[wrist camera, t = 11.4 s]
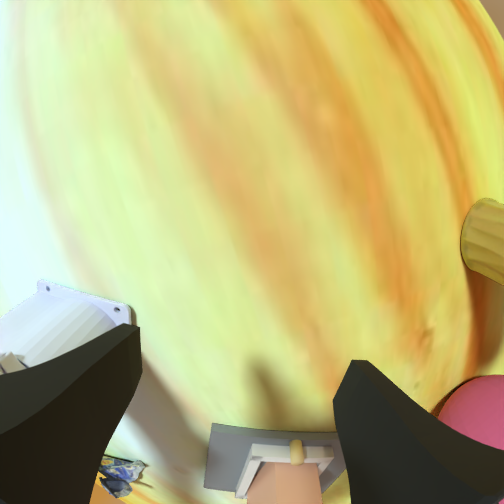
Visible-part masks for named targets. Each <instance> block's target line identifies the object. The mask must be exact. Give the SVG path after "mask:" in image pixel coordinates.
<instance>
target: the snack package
mask: <svg viewBox="0 0 504 504" xmlns="http://www.w3.org/2000/svg"><path fill="white" fill-rule="evenodd" d="M134 464H135V465H140V466H139V467H136V466H131V465H134ZM143 468H145V466H144V464H143V463H142V461H137V462H133V463H131V462H127V461H123V460H118V459H114V458H110V457H107V456H104V455H103V458H102V461H101V464H100V467H99V470H98V471H99V472H100V473H101V474H103V475H104V476H105V477H106V478H104V479H102V477H100V478H99V479H100V481H101V484H102V486H103V488H105V490H106V491H108V492H109V494H111V495H113V496H114V497H115V498H119V497H124V496H127V495H129V493H130V492H132V491H133V490H132V488H131V486H130V485H129V483H130V482H132V481H135V480H136V479H137V478H138V476H139V473H140V471H142V470H143Z"/></svg>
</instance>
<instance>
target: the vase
mask: <svg viewBox="0 0 504 504" xmlns="http://www.w3.org/2000/svg"><path fill="white" fill-rule="evenodd" d="M461 251H462V256H463V259H464V261H465V263H466V265H467V266H468V268H469V269H471V270H472V271H476V272H479V273H481V274H482V275H484V276H486V277H488V278H490V279H492V280H494V281H496V282H497V283H499V284H501V285H503V286H504V204H501V203H499V202H497V201H496V200H493V199H490V198H484V199H481V200H479V201H477V202H476V203H475V204H474V205H473V206H472V208H471V209H470V211H469V212H468V214H467V216H466V219H465V221H464V224H463V228H462V234H461Z"/></svg>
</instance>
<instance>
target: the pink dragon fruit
mask: <svg viewBox="0 0 504 504" xmlns="http://www.w3.org/2000/svg"><path fill="white" fill-rule="evenodd" d="M438 420H440V421H441V422H443V423H445V424H446V425H448V426H449V427H451V428H452V429H454V430H456V431H458V432H460V433H461V434H463V435H466V436H468V437H470V438H472V439H474V440H476V441H478V442H481V443H483V444H486V445H489V446H492V447H495V448H498V449H501V450H504V375H487V376H482V377H479V378H476V379H473V380H471V381H469V382H467V383H465V384H464V385H462V386H461V387H460V388H458V389H457V390H456V391H455V392H454V393H453V394H452V395H451V396H450V397H449V399H448V400H447V401H446V403H445V404H444V406H443V408H442V410H441V412H440V414H439V416H438ZM499 504H504V499H503V500H501V501H500V502H499Z"/></svg>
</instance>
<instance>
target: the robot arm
mask: <svg viewBox="0 0 504 504" xmlns="http://www.w3.org/2000/svg"><path fill="white" fill-rule="evenodd" d="M49 288H50V289H49ZM37 289H38V291H37V292H36V293H35V294H33V295H32V296H30V297H29V298H27V299H26V300H24V301H23V302H21V303H20V304H19V305H17V306H16V307H14V308H13V309H11V310H10V311H9V312H7V313H6V314H5V315H3V316H2V317H0V504H89V502H90V498H91V494H92V490H93V486H94V483H95V480H96V476H97V473H98V470H99V467H100V464H101V461H102V458H103V455H104V452H105V450H106V448H107V445H108V443H109V441H110V439H111V437H112V435H113V433H114V431H115V429H116V428H117V426H118V424H119V422H120V420H121V418H122V416H123V414H124V413H125V411H126V409H127V407H128V405H129V403H130V401H131V399H132V398H133V396H134V393H135V391H136V388H137V385H138V383H139V380H140V377H141V374H142V360H141V343H140V327H138V326H134V325H131V309H130V307H129V306H128V305H126V304H124V303H120V302H116V301H112V300H108V299H105V298H101V297H98V296H94V295H91V294H87V293H84V292H80V291H77V290H74V289H70V288H67V287H64V286H61V285H58V284H55V283H51V282H48V281H45V280H42V279H40V280H39V281H37ZM116 307H118V308H119V309H120V311H119V310H117V308H116ZM333 408H334V417H335V425H336V429H337V433H338V437H339V441H340V445H341V449H342V453H343V457H344V461H345V465H346V469H347V473H348V478H349V484H350V495H351V504H499V502H500V501H501V500H503V499H504V450H501V449H498V448H495V447H492V446H489V445H486V444H483V443H481V442H478V441H476V440H474V439H472V438H470V437H468V436H466V435H463V434H461V433H460V432H458V431H456V430H454V429H452V428H451V427H449V426H448V425H446V424H445V423H443V422H441V421H440V420H438V419H437V418H435V417H434V416H433V415H431V414H430V413H429V412H427V411H426V410H425V409H423V408H422V407H421V406H420V405H418V404H417V403H416V402H415V401H413V400H412V399H411V398H410V397H409V396H408V395H406V394H405V393H404V392H403V391H402V390H401V389H400V388H398V387H397V386H396V385H395V384H394V383H393V382H392V381H391V380H390V379H388V378H387V377H386V376H385V375H384V374H383V373H382V372H381V371H379V370H378V369H377V368H376V367H375V366H374V365H372V364H371V363H370V362H369V361H367V360H351V363H350V365H349V367H348V369H347V372H346V374H345V376H344V378H343V380H342V382H341V384H340V386H339V389H338V391H337V393H336V395H335V397H334V399H333Z"/></svg>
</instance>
